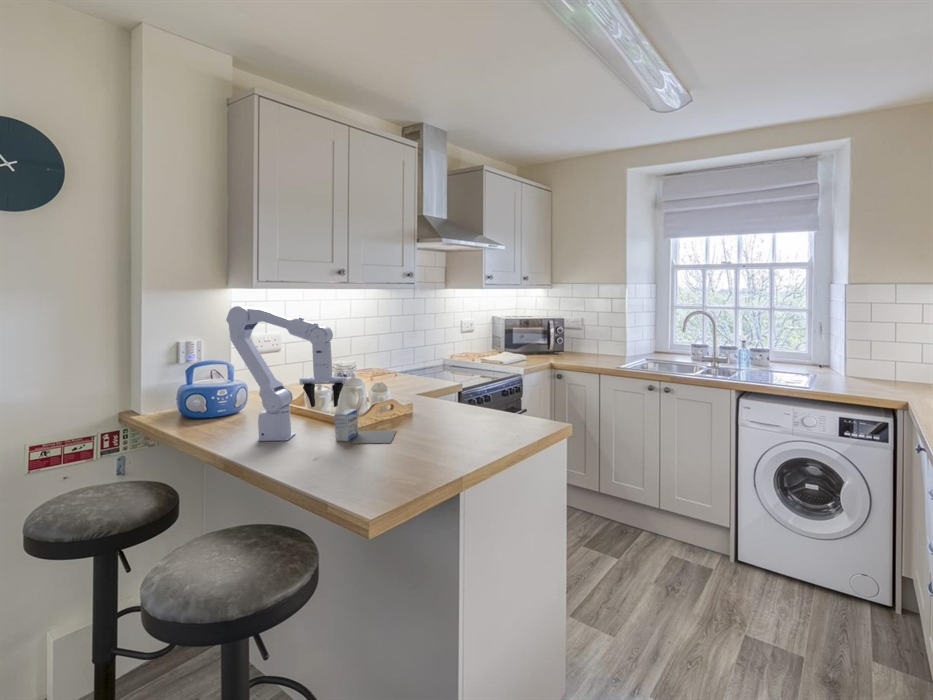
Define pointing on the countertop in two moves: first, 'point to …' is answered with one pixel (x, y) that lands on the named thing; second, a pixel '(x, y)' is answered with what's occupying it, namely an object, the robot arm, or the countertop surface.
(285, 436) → the robot arm
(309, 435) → the countertop surface
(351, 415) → the medicine box
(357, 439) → the mat
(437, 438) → the countertop surface
